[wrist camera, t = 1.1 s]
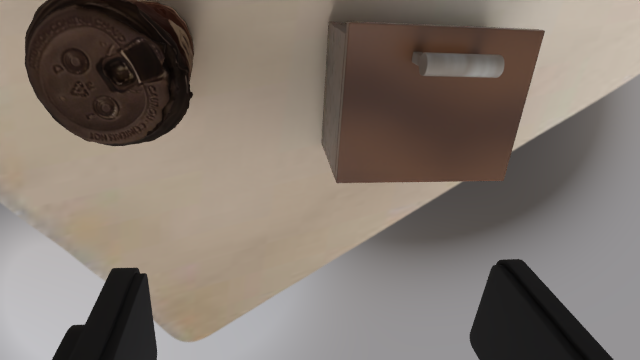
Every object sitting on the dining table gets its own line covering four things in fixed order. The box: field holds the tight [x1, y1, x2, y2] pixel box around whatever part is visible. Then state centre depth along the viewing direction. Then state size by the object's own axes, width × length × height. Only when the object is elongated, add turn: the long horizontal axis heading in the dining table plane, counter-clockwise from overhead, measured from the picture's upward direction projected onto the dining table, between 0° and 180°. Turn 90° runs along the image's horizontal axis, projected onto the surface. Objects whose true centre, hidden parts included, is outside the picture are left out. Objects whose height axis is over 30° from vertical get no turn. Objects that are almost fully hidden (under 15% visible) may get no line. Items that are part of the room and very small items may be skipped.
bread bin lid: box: [335, 21, 545, 183], centre depth 29 cm, size 11×14×4 cm
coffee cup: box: [25, 0, 194, 146], centre depth 27 cm, size 9×8×13 cm
